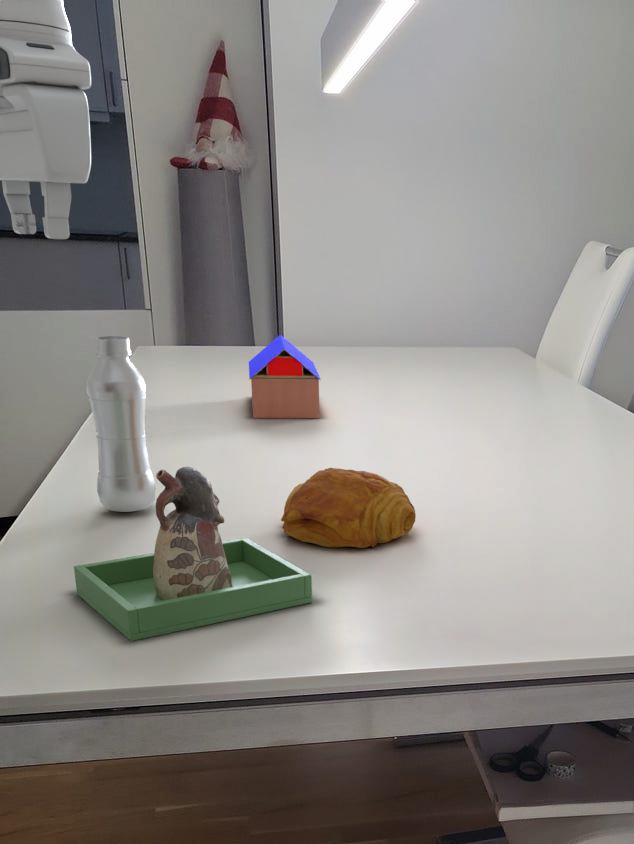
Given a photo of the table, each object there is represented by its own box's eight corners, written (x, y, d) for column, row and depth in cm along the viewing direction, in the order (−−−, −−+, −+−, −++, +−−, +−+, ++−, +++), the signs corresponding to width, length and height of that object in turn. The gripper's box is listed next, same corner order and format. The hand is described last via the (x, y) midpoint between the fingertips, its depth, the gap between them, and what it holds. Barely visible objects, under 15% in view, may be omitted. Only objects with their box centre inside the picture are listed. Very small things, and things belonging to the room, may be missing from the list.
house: (251, 418, 178) (248, 348, 173) (250, 397, 196) (247, 334, 191) (321, 418, 180) (320, 349, 176) (314, 398, 198) (312, 335, 194)
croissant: (331, 524, 129) (324, 460, 127) (436, 530, 121) (430, 461, 119) (252, 549, 117) (243, 479, 115) (362, 557, 109) (354, 482, 107)
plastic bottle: (169, 509, 125) (156, 338, 117) (123, 521, 119) (107, 343, 112) (132, 500, 128) (117, 332, 120) (87, 511, 123) (68, 337, 115)
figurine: (243, 598, 97) (236, 472, 92) (166, 610, 93) (156, 480, 88) (219, 575, 102) (211, 455, 98) (146, 585, 99) (135, 461, 94)
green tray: (130, 641, 88) (127, 610, 87) (76, 594, 98) (73, 565, 97) (312, 602, 98) (311, 574, 97) (247, 563, 108) (245, 537, 107)
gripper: (-48, 70, 96) (-26, 230, 101) (17, 53, 81) (39, 241, 87) (22, 78, 100) (40, 231, 105) (97, 62, 85) (114, 242, 90)
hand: (40, 236), depth 96 cm, fingers open, 8 cm apart
